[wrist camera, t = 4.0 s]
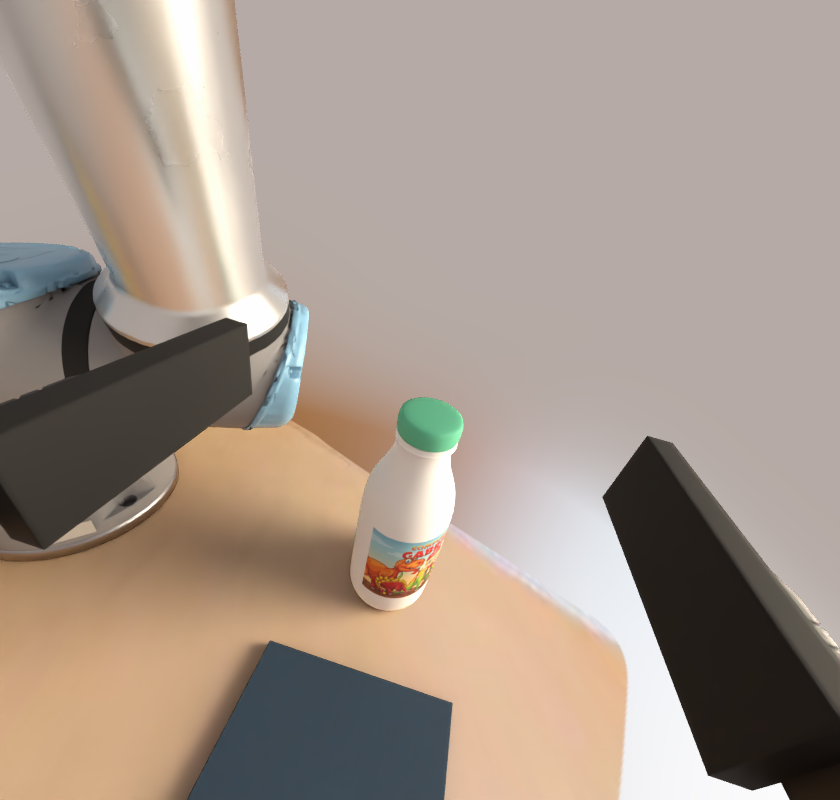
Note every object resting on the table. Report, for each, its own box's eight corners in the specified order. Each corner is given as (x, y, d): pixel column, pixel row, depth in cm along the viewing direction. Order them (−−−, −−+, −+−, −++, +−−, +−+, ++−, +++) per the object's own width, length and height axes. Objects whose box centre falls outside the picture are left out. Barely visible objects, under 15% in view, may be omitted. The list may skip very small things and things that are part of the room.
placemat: (147, 881, 17) (144, 880, 17) (270, 643, 26) (270, 640, 26) (424, 992, 16) (427, 993, 16) (450, 705, 25) (452, 702, 25)
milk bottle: (332, 582, 31) (353, 413, 21) (377, 526, 37) (411, 373, 27) (401, 632, 29) (464, 471, 18) (437, 563, 35) (500, 412, 25)
